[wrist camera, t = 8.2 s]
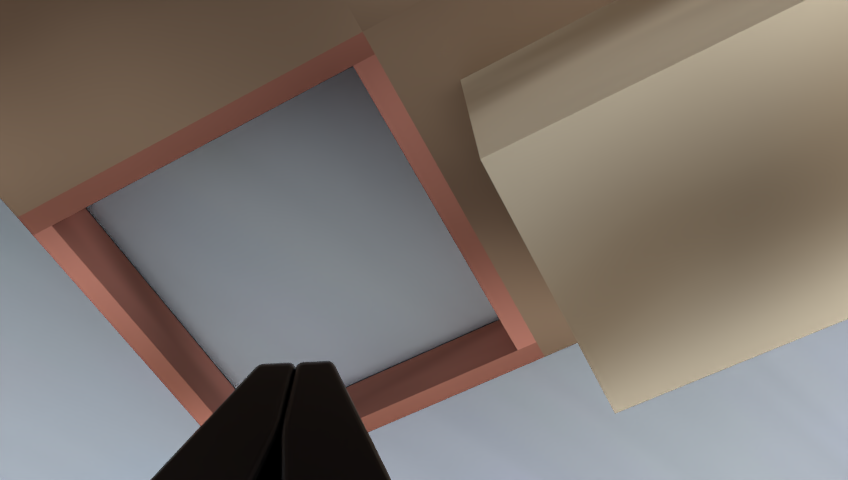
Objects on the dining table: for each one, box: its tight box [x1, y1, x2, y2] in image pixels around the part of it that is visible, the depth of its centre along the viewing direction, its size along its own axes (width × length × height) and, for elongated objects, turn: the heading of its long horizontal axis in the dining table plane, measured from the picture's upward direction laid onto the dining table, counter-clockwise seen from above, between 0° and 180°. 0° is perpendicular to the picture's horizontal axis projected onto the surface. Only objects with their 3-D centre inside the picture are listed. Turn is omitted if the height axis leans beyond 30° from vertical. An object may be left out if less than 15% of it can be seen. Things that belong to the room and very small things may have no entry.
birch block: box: [460, 0, 848, 413], centre depth 15 cm, size 6×6×4 cm
